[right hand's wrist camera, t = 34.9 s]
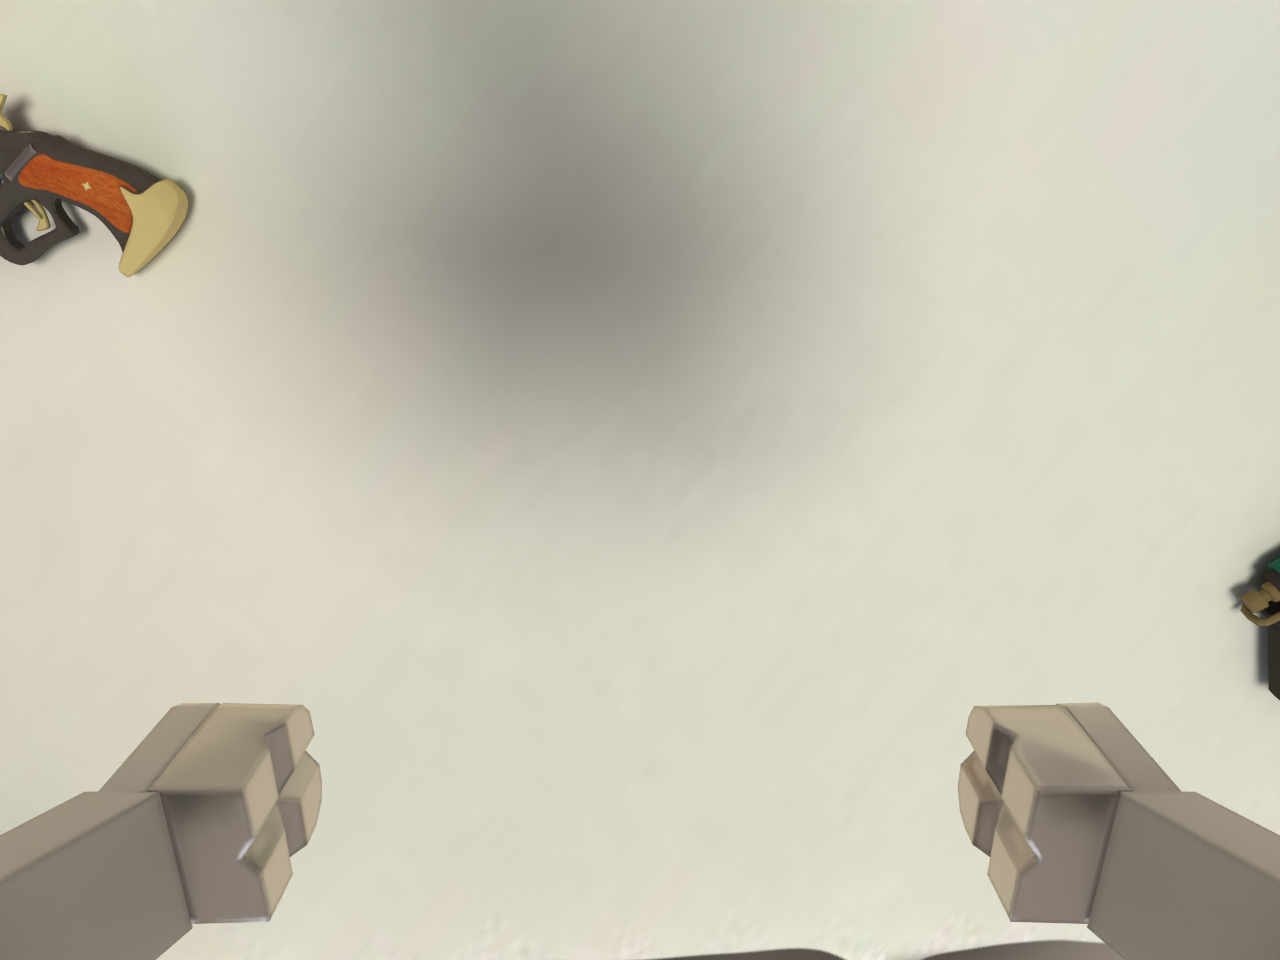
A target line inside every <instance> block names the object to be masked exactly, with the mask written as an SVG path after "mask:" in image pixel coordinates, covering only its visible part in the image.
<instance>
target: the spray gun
mask: <svg viewBox="0 0 1280 960" xmlns="http://www.w3.org/2000/svg"><path fill="white" fill-rule="evenodd" d="M1267 567H1268V570H1266V571H1264V572H1263V577H1264V579H1265V581H1266V583H1264V584H1263V585H1262V588H1261V589H1262V590H1260V591H1257V590H1252V591H1250V592H1249V593H1247V594H1245V595H1243V596H1241V599H1242V601H1243V605H1242V608H1241V610H1240V611H1241V612H1242V613H1243V614H1244V615H1245V616H1246V618H1247V619H1248V620H1250V621H1251V622H1253V623H1255V624H1256V625H1258V626H1269V636H1268V670H1269V690H1270V691H1271V692H1272V693H1273V695H1274V696H1275V697H1276V698H1278V699H1279V700H1280V557H1279V558H1278V559H1276V560H1274V561H1272V562H1270V563H1269V564H1268V565H1267ZM1250 610H1251V611H1252V612H1253V613H1258V612H1259V611H1260V612H1261V613H1262V614H1264V615H1265V616H1266V617H1267V618H1266V619H1260V618H1258V617H1257V616H1255V615H1254V614H1253V613H1252V612H1251V611H1250Z"/></svg>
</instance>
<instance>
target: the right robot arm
mask: <svg viewBox="0 0 1280 960" xmlns="http://www.w3.org/2000/svg"><path fill="white" fill-rule="evenodd" d="M313 736H314V730H313V725H312V720H311V715H310V711H309V710H308V709H306V708H305V707H304V706H303V705H282V704H236V703H223V704H219V703H182V704H180V705H177V706H174V707H172V708H171V709H170V710H169V711H168V712H167V713H166V715H165V716H164V717H163V718H162V719H161V720H160V721H159V723H158V724H157V725H156V726H155V727H154V728H153V729H152V731H151V732H150V733H149V734H148V735H147V736H146V738H145V739H144V740H143V741H142V742H141V743H140V744H139V746H138V747H137V748H136V749H135V750H134V751H133V752H132V754H131V755H130V756H129V757H128V758H127V759H126V760H125V762H124V763H123V764H122V765H121V766H120V767H119V768H118V770H117V771H116V772H115V773H114V774H113V775H112V777H111V778H110V779H109V780H108V781H107V782H106V783H105V785H104V786H103V787H102V788H101V789H100V790H99V791H98V792H84V793H82V794H80V795H78V796H76V797H74V798H72V799H70V800H68V801H66V802H64V803H62V804H60V805H58V806H56V807H54V808H53V809H51V810H49V811H47V812H45V813H43V814H41V815H39V816H37V817H35V818H33V819H31V820H29V821H27V822H25V823H23V824H21V825H20V826H18V827H16V828H14V829H12V830H10V831H8V832H6V833H4V834H2V835H0V960H156V959H157V958H158V957H159V956H160V955H162V954H163V953H164V952H165V951H166V950H167V949H169V948H170V947H171V946H172V945H173V944H174V943H176V942H177V941H178V940H179V939H180V938H181V937H183V936H184V935H185V934H186V933H187V932H188V931H190V930H191V929H192V924H203V923H237V922H269V921H270V919H271V917H272V915H273V913H274V911H275V909H276V907H277V905H278V903H279V901H280V899H281V897H282V895H283V893H284V891H285V889H286V887H287V885H288V883H289V881H290V879H291V877H292V875H293V873H292V868H291V862H290V857H291V856H292V855H293V854H295V853H296V852H298V851H299V850H300V849H302V848H303V847H304V846H306V845H307V844H308V842H309V840H310V837H311V835H312V833H313V831H314V829H315V827H316V823H317V819H318V814H319V810H320V805H321V799H322V779H321V773H320V766H319V764H318V763H317V762H316V761H315V760H314V759H313V758H312V757H311V756H310V754H309V753H308V752H307V751H306V748H307V746H308V745H309V743H310V741H311V739H312V737H313ZM966 736H967V737H968V739H969V741H970V743H971V745H972V746H973V748H974V751H973V752H972V753H971V754H970V756H969V757H968V758H967V759H966V760H965V761H964V762H963V763H962V764H961V766H960V774H959V782H958V794H959V805H960V812H961V816H962V819H963V823H964V826H965V829H966V831H967V833H968V835H969V837H970V840H971V842H972V844H973V845H974V846H976V847H977V848H978V849H980V850H981V851H982V852H984V853H985V854H987V855H988V856H989V857H990V862H989V868H988V873H987V875H988V877H989V879H990V881H991V883H992V885H993V887H994V889H995V891H996V893H997V895H998V897H999V899H1000V901H1001V903H1002V905H1003V907H1004V909H1005V911H1006V913H1007V915H1008V917H1009V919H1010V921H1011V922H1042V923H1077V924H1088V926H1087V928H1088V929H1090V930H1091V931H1092V932H1093V933H1094V934H1095V935H1097V936H1098V937H1099V938H1100V939H1101V940H1102V941H1104V942H1105V943H1106V944H1107V945H1108V946H1109V947H1111V948H1112V949H1113V950H1114V951H1115V952H1116V953H1118V954H1119V955H1120V956H1121V957H1122V958H1123V959H1125V960H1280V835H1278V834H1276V833H1274V832H1272V831H1270V830H1268V829H1266V828H1264V827H1262V826H1260V825H1258V824H1256V823H1254V822H1253V821H1251V820H1249V819H1247V818H1245V817H1243V816H1241V815H1239V814H1237V813H1235V812H1233V811H1231V810H1229V809H1227V808H1225V807H1224V806H1222V805H1220V804H1218V803H1216V802H1214V801H1212V800H1210V799H1208V798H1206V797H1204V796H1202V795H1200V794H1198V793H1196V792H1182V791H1181V790H1180V789H1179V788H1178V787H1177V786H1176V785H1175V783H1174V782H1173V781H1172V780H1171V779H1170V778H1169V777H1168V775H1167V774H1166V773H1165V772H1164V771H1163V770H1162V769H1161V767H1160V766H1159V765H1158V764H1157V763H1156V762H1155V760H1154V759H1153V758H1152V757H1151V756H1150V755H1149V754H1148V752H1147V751H1146V750H1145V749H1144V748H1143V747H1142V746H1141V744H1140V743H1139V742H1138V741H1137V740H1136V739H1135V738H1134V736H1133V735H1132V734H1131V733H1130V732H1129V731H1128V730H1127V728H1126V727H1125V726H1124V725H1123V724H1122V723H1121V722H1120V720H1119V719H1118V718H1117V717H1116V716H1115V715H1114V713H1113V712H1112V711H1111V710H1110V709H1109V708H1108V707H1106V706H1104V705H1102V704H1100V703H1068V704H1056V705H1009V706H974V707H973V709H972V711H971V713H970V715H969V718H968V724H967V729H966Z"/></svg>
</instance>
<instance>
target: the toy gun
mask: <svg viewBox="0 0 1280 960" xmlns="http://www.w3.org/2000/svg"><path fill="white" fill-rule="evenodd" d="M6 98H7V95H4V94H0V179H1V180H2V185H1V186H0V256H1V257H3V258H4V259H6V260H8V261H9V262H12V263H15V264H18V265H26V264H29V263H31V262H34V261H35V260H37V259H38V258H39V257H40V256H41V254H42V253H43V252H45V251H46V250H47V249H48V248H50V247H51V246H53V245H54V244H56V243H58V242H60V241H63V240H65V239H68V238H70V237H73V236H75V235H77V234H78V233H79V229H78V227H77V226H76V225H75V224H74V222H73V221H72V220H71V219H70V218H69V216H68V215H67V213H66V212H65V210H64V209H63V207H62V204H61V201H62V200H64V201H67V202H69V203H72V204H74V205H76V206H78V207H80V208H82V209H84V210H86V211H88V212H90V213H92V214H93V215H95V216H96V217H97V218H99V219H100V220H101V221H102V222H103V223H104V224H105V225H106V227H107V228H108V229H109V230H110V231H111V232H112V234H113V235H114V237H115V238H116V239H117V241H118V242H119V244H120V246H121V249H122V252H123V254H122V257H121V260H120V263H119V271H120V272H121V273H122V274H123V275H125V276H127V277H130V276H132V275H133V274H135V273H136V272H137V271H139V270H140V269H141V268H142V267H144V266H145V265H146V264H147V263H148V262H149V261H150V260H152V258H153V257H154V256H155V255H156V254H157V253H158V252H159V251H160V250H161V249H162V248H163V247H164V246H165V245H166V244H167V243H168V242H169V241H170V240H171V239H172V238H173V237H174V235H175V234H176V233H177V231H178V230H179V228H180V226H181V225H182V223H183V221H184V219H185V217H186V214H187V210H188V199H187V195H186V194H185V192H184V191H183V190H182V189H181V188H180V187H179V186H178V185H177V184H175V183H174V182H173V181H172V180H169V179H165V180H162V181H160V180H159V179H157V178H156V177H154V176H152V175H150V174H148V173H146V172H144V171H142V170H140V169H139V168H136V167H134V166H132V165H130V164H128V163H125V162H122V161H120V160H117V159H114V158H111V157H108V156H105V155H102V154H98V153H95V152H92V151H88V150H85V149H82V148H79V147H77V146H75V145H72V144H71V143H69V142H68V141H66V140H65V139H64V138H62V137H61V136H52V135H50V134H48V133H45V132H40V131H23V130H17V129H13V127H12V125H11V123H10V122H9V121H8V119H7V118H6V117H5V116H4V115H3V113H2V109H3V106H4V104H5V101H6ZM30 201H32V202H33V203H34V204H35V205H36V207H37V208H38V209H39V210H40V212H41V213H40V212H39V211H38V210H37V209H36V208H35V207H34V206H33V205H32V204H31V203H30ZM40 203H41V204H42V205H43V206H44V207H45V208H46V209H47V210H48V211H49V212H50V213H51V215H52V217H53V219H54V221H55V224H56V228H55V229H54V230H52V231H51V232H48V233H46V234H44V235H42V236H40V237H38V238H36V239H34V240H32V241H31V242H29V243H28V244H27V245H26V246H24V245H22V244H21V243H20V242H19V241H18V240H17V239H16V237H15V235H14V233H13V231H12V228H11V225H10V222H11V221H12V220H13V219H14V218H15V217H16V215H17V214H18V213H19V212H20V211H21V210H22V209H23V208H24V207H25V206H26V207H27V208H28V209H29V210H30V211H31V212H32V213H33V214H34V215H35V216H36V217H37V218H38V220H39V225H38V227H37V231H42V230H46V229H48V228H50V222H49V219H48V216H47V214H46V212H45V209H44V208H43V207H42V205H41V204H40ZM41 214H42V215H41Z"/></svg>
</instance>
